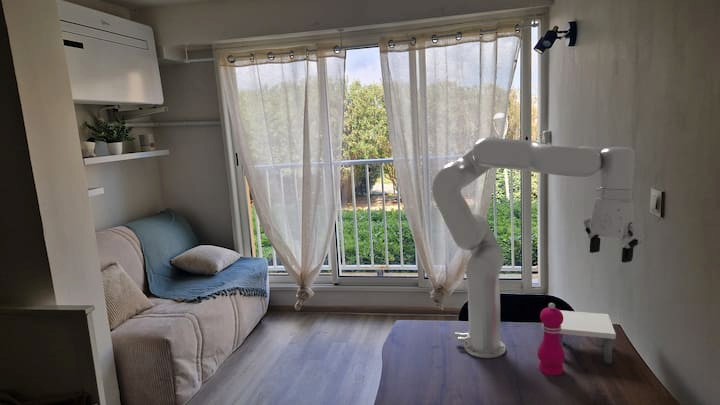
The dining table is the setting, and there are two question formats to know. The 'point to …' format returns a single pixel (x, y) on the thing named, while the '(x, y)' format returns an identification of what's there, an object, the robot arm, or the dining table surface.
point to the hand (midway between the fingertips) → (610, 256)
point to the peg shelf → (589, 329)
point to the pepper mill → (551, 342)
